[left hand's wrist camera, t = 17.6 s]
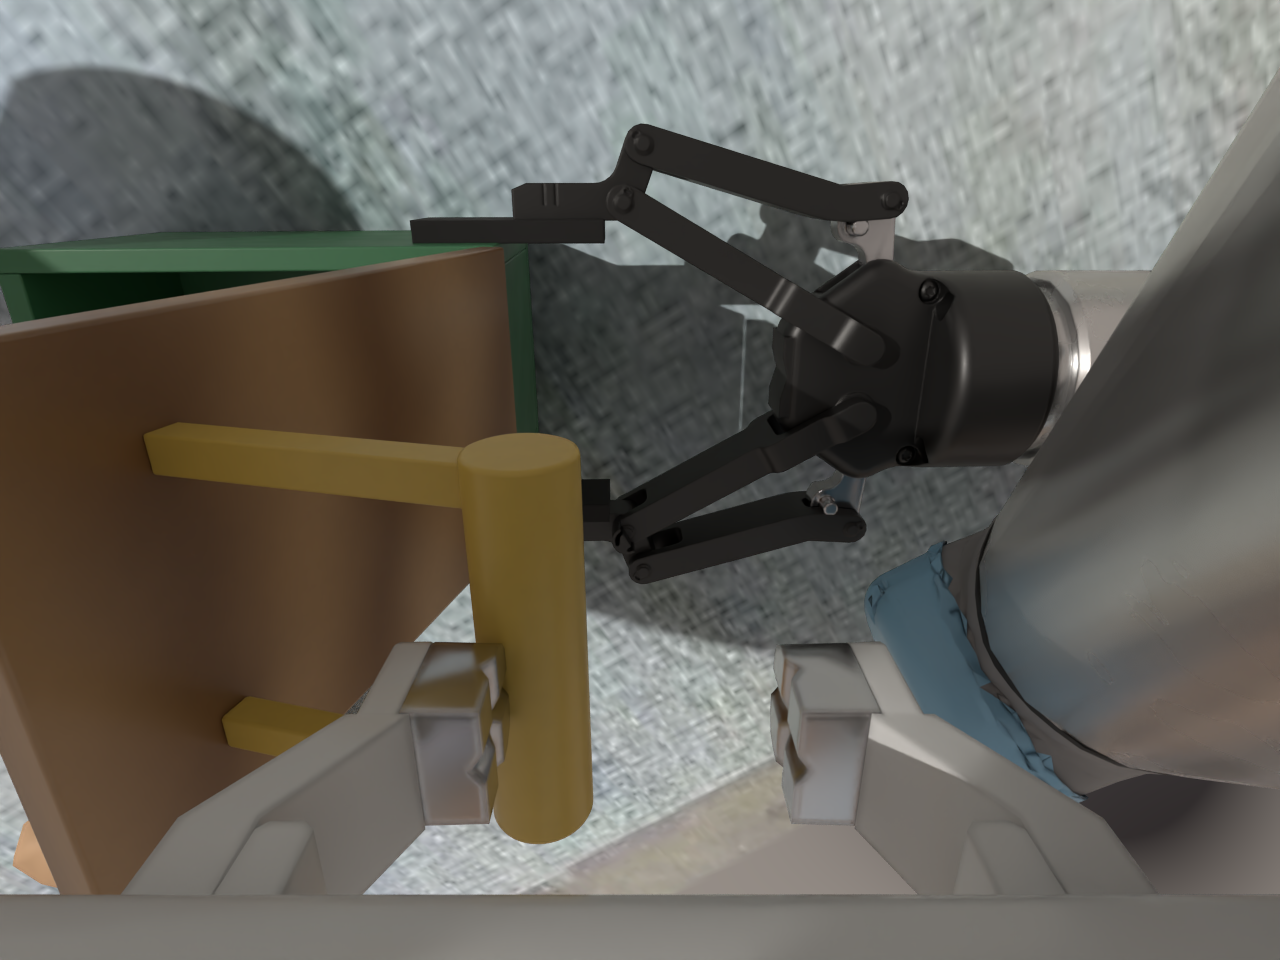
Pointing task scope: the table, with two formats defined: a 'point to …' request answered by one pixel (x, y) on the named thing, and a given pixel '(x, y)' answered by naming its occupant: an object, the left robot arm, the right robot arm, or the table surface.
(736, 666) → the table surface
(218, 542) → the lid
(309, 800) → the left robot arm
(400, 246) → the chest
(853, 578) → the table surface
